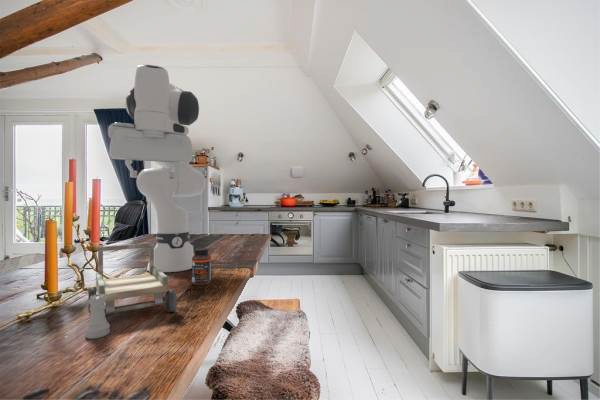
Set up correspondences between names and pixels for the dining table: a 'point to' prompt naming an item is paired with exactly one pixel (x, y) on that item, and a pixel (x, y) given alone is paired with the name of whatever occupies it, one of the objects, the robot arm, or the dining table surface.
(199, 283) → the supplement bottle
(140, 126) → the robot arm
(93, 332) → the rook chess piece
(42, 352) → the dining table surface
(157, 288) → the miniature garden bench
